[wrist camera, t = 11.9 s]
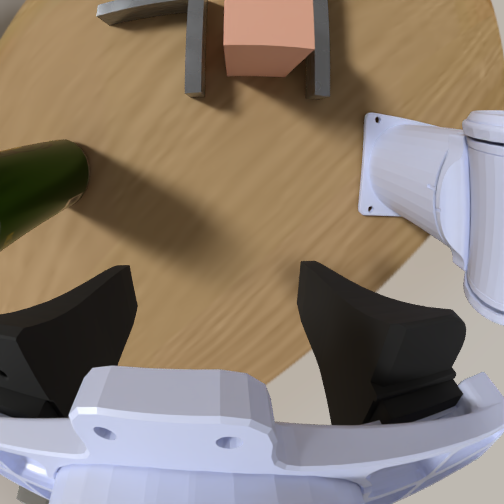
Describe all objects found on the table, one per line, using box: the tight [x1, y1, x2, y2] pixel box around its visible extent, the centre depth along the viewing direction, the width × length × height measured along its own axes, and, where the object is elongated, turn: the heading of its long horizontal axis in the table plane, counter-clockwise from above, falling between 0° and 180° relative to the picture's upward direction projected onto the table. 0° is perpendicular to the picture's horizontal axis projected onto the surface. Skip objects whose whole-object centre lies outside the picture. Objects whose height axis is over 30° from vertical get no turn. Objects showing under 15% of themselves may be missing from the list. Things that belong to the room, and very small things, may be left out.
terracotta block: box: [223, 0, 315, 77], centre depth 13 cm, size 4×4×8 cm
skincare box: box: [17, 486, 50, 504], centre depth 32 cm, size 8×7×16 cm
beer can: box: [0, 140, 90, 251], centre depth 14 cm, size 5×5×12 cm
